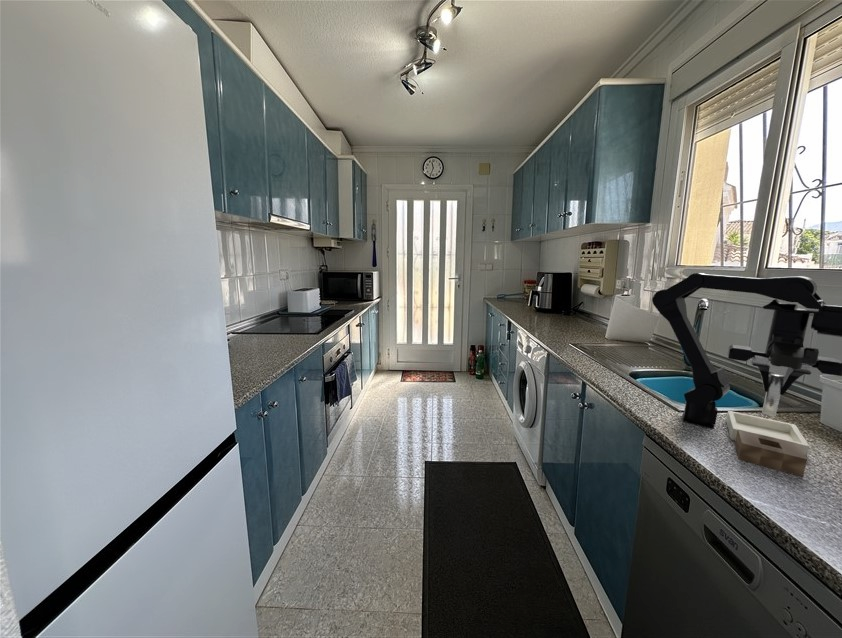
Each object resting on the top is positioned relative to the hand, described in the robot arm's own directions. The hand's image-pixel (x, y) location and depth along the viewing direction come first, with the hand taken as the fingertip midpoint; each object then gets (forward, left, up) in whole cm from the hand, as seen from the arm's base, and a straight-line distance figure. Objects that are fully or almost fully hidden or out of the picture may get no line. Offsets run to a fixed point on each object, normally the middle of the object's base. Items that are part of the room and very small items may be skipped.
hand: (773, 392), depth 83 cm
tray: (0, +3, -13) cm, 13 cm away
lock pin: (0, 0, -6) cm, 6 cm away
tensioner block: (-1, -10, -13) cm, 17 cm away
